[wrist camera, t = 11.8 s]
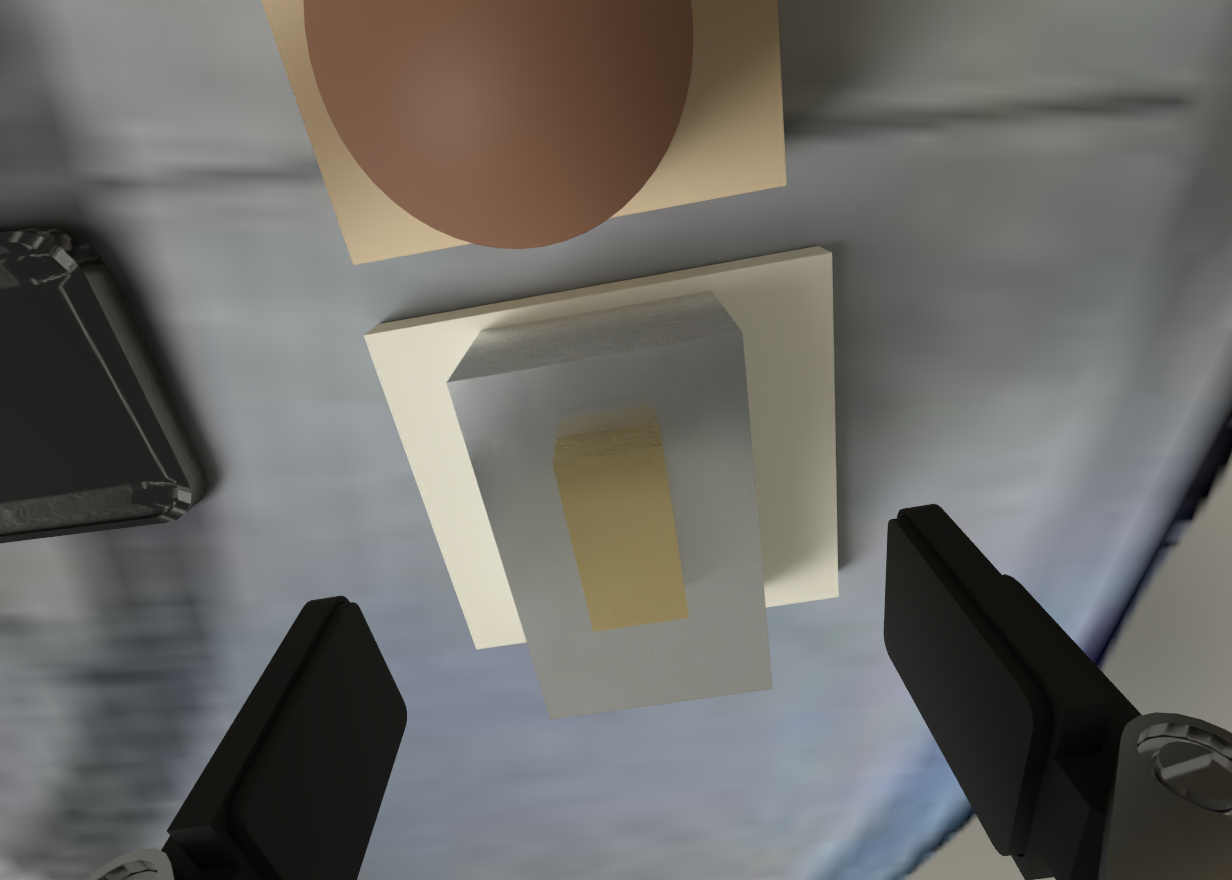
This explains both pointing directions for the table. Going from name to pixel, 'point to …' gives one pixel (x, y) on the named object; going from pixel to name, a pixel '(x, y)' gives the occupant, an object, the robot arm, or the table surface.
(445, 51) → the body
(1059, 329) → the table surface
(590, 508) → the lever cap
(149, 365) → the phone
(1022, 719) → the robot arm
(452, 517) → the felt mat
